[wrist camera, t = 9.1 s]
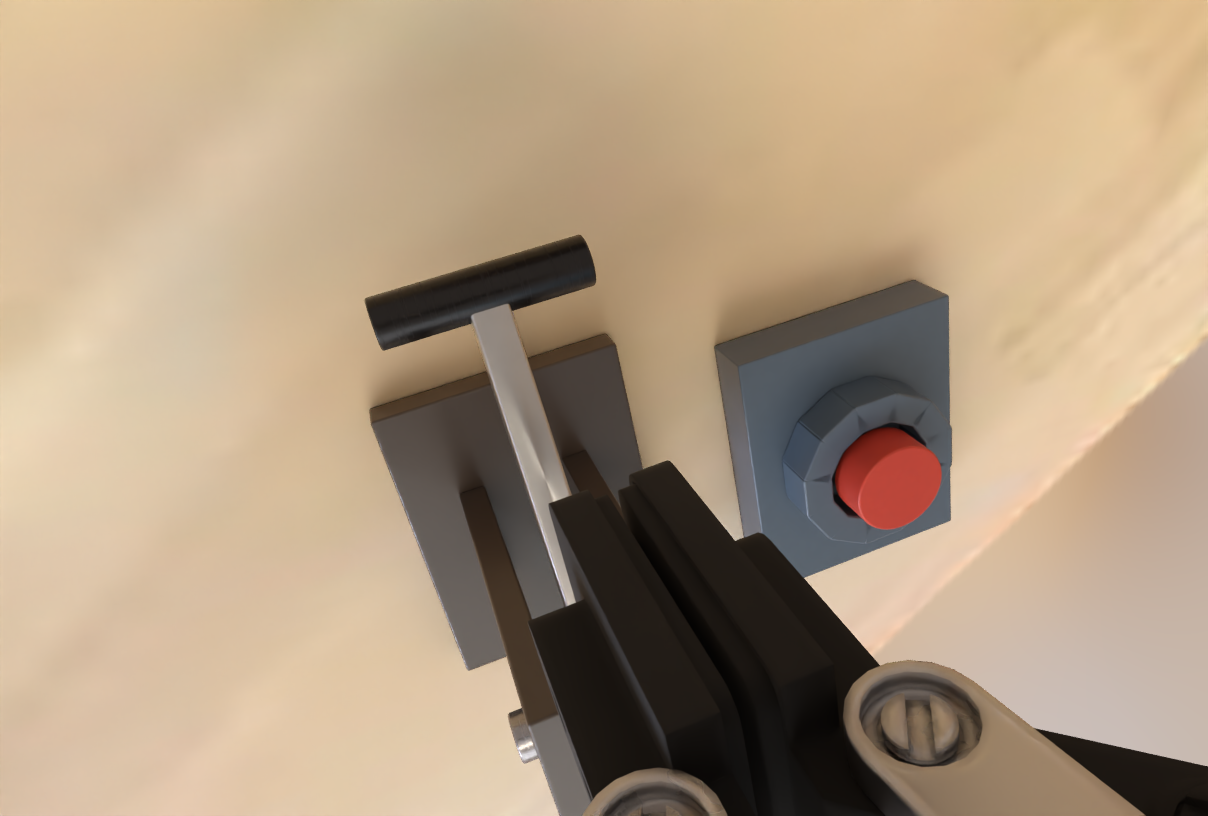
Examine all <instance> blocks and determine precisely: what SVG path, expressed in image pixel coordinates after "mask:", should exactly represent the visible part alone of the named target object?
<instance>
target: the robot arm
mask: <svg viewBox="0 0 1208 816" xmlns="http://www.w3.org/2000/svg"><path fill="white" fill-rule="evenodd" d="M629 484H630V486H628V487H625V488H622V489H620V490H618V497H619V502H620V506H621V510H622V514H623V518H622V516H621V515H620V513H619V512H618V510H617V508H616V507H615V505H614V504H613V502H612V500H611V499H610V497H609V496H608V495H607V494H606V495H603V496H600V497H598V498H595V499H594V497H593V496H592V494H591V493H590V491H589V490H584V491H582V492H579V493H576V494H573V495H570V496H568V497H565V498H562V499H559V500H557V501H554V502H551V503H549V504H548V506H549V511H550V515H551V519H552V522H553V525H554V529H555V532H556V536H557V539H558V543H559V546H560V550H561V553H562V557H563V560H564V564H565V567H566V570H567V574H568V577H569V581H570V584H571V588H572V591H573V595H574V598H575V602H576V603H573V604H571V605H568V606H566V607H563V608H560V609H558V610H555V611H553V612H550V613H547V614H545V615H542V616H540V617H537V618H534V619H532V620H529V621H527V622H528V626H529V629H530V632H531V635H532V638H533V641H534V644H535V647H536V650H537V653H538V656H539V659H540V662H541V665H542V668H543V671H544V674H545V677H546V680H547V683H548V686H549V689H550V691H551V694H552V697H553V700H554V703H555V706H556V709H557V711H558V714H559V717H560V720H561V723H562V725H563V728H564V731H565V734H566V736H567V739H568V742H569V745H570V747H571V750H572V753H573V756H574V758H575V761H576V764H577V767H578V769H579V772H580V775H581V778H582V780H583V783H584V786H585V789H586V791H587V794H588V797H589V800H590V802H591V803H590V805H589V806H588V807H587V809H586V810H585V812H584V813H583V816H1208V766H1203V765H1198V764H1194V763H1189V762H1185V761H1181V760H1176V759H1171V758H1167V757H1162V756H1157V755H1153V754H1148V753H1144V752H1139V751H1135V750H1131V749H1126V748H1122V747H1117V746H1113V745H1108V744H1103V743H1098V742H1094V741H1090V740H1085V739H1081V738H1076V737H1071V736H1067V735H1063V734H1058V733H1054V732H1049V731H1045V730H1040V729H1035V728H1033V727H1032V726H1030V725H1029V724H1028V723H1026V722H1025V721H1024V720H1022V719H1021V718H1020V717H1019V716H1017V715H1016V714H1015V713H1014V712H1012V711H1011V710H1010V709H1009V708H1007V707H1006V706H1005V705H1003V704H1002V703H1001V702H1000V701H998V700H997V699H996V698H994V697H993V696H992V695H991V694H989V693H988V692H987V691H985V690H984V689H983V688H982V687H980V686H979V685H978V684H977V683H975V682H974V681H972V680H971V679H969V678H967V677H966V676H964V675H962V674H961V673H959V672H957V671H955V670H954V669H951V668H948V667H944V666H942V665H938V664H935V663H932V662H923V661H912V660H906V661H899V662H892V663H886V664H884V665H881V666H880V665H879V664H878V663H877V662H876V660H875V659H874V658H873V657H872V656H871V655H870V653H869V652H868V651H867V650H866V649H865V648H864V647H863V645H862V644H861V643H860V642H859V641H858V640H857V639H856V637H855V636H854V635H853V634H852V633H851V632H850V631H849V629H848V628H847V627H846V626H845V625H844V624H843V623H842V621H841V620H840V619H839V618H838V617H837V616H836V615H835V613H834V612H833V611H832V610H831V609H830V608H829V607H828V605H827V604H826V603H825V602H824V601H823V600H822V598H821V597H820V596H819V595H818V594H817V593H816V592H815V590H814V589H813V588H812V587H811V586H810V585H809V584H808V582H807V581H806V580H805V579H804V578H803V577H802V576H801V574H800V573H799V572H798V571H797V570H796V569H795V568H794V566H793V565H792V564H791V563H790V562H789V561H788V560H787V558H786V557H785V556H784V555H783V554H782V553H781V551H780V550H779V549H778V548H777V547H776V546H775V545H774V543H773V542H772V541H771V540H770V539H769V538H768V537H767V536H765V535H764V534H762V533H759V532H757V533H755V534H752V535H750V536H747V537H744V538H742V539H739V540H737V541H735V540H734V539H733V538H732V537H731V535H730V534H729V533H728V532H727V530H726V529H725V528H724V527H723V525H722V524H721V523H720V522H719V520H718V519H717V518H716V517H715V516H714V514H713V513H712V512H711V511H710V509H709V508H708V507H707V506H706V504H705V503H704V502H703V501H702V499H701V498H700V497H699V496H698V494H697V493H696V492H695V491H694V489H693V488H692V487H691V486H690V484H689V483H688V482H687V481H686V480H685V478H684V477H683V476H682V475H681V473H680V472H679V471H678V470H677V468H676V467H675V466H674V465H673V464H672V463H671V462H670V461H665V462H662V463H659V464H656V465H654V466H651V467H648V468H645V469H643V470H640V471H637V472H634V473H631V474H630V475H629ZM623 519H624V520H623Z"/></svg>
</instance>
